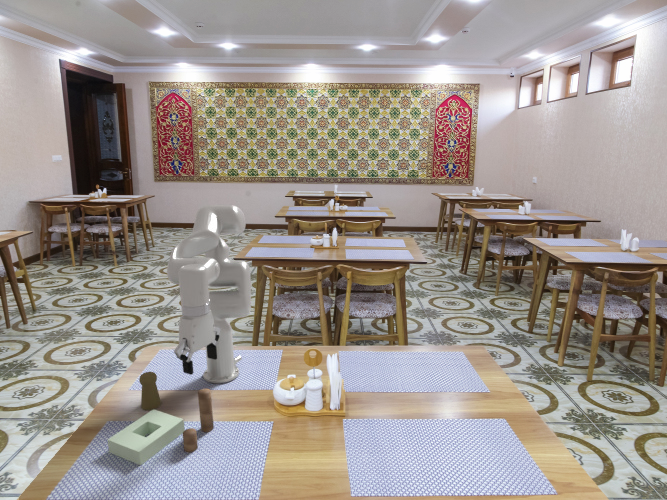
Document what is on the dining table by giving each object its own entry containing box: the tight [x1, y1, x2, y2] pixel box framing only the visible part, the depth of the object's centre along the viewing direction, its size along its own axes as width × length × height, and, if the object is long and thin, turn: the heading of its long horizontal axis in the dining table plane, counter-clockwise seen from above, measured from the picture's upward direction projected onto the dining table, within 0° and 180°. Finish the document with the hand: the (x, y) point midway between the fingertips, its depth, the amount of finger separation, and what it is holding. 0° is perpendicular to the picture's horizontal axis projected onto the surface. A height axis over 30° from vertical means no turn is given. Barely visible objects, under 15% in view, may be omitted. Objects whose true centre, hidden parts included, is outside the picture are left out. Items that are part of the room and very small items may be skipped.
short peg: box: [182, 427, 198, 454], centre depth 127 cm, size 4×4×5 cm
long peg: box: [197, 388, 215, 433], centre depth 135 cm, size 4×4×12 cm
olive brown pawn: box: [138, 371, 162, 411], centre depth 148 cm, size 6×6×11 cm
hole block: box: [107, 409, 186, 466], centre depth 131 cm, size 16×12×4 cm
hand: (200, 365), depth 132 cm, fingers open, 9 cm apart
